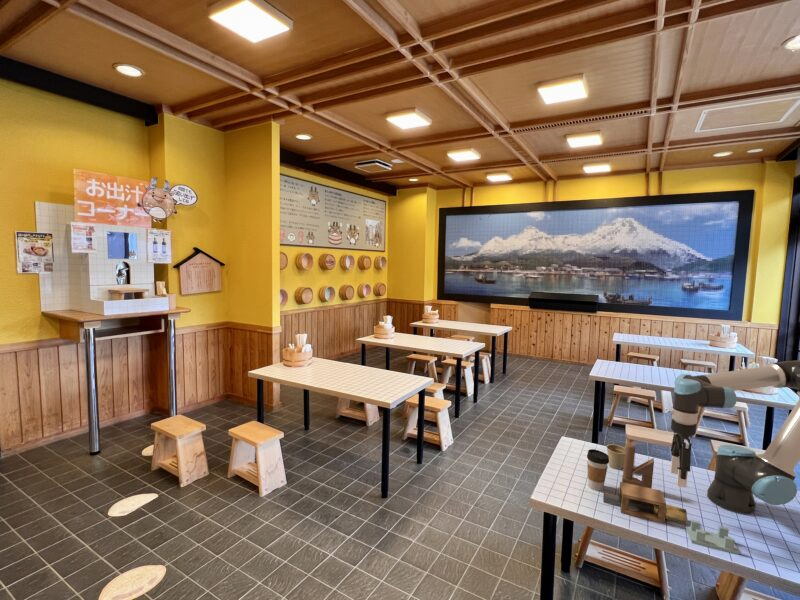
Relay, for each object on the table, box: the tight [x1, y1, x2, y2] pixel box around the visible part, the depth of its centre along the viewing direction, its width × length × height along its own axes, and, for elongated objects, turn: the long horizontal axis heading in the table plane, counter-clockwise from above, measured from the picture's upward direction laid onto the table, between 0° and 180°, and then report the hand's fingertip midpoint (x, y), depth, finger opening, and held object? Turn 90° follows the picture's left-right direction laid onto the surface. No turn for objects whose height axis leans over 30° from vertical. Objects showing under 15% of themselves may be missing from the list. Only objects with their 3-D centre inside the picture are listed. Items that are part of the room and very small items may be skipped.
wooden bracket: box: [621, 443, 655, 489], centre depth 169 cm, size 4×11×18 cm, turn 60°
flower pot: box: [605, 444, 625, 470], centre depth 188 cm, size 9×9×9 cm
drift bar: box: [602, 492, 654, 514], centre depth 156 cm, size 17×3×3 cm, turn 64°
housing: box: [618, 481, 667, 524], centre depth 154 cm, size 14×9×8 cm
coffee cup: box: [586, 448, 609, 492], centre depth 169 cm, size 8×8×15 cm
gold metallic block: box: [653, 504, 688, 525], centre depth 150 cm, size 10×5×5 cm, turn 65°
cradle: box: [685, 519, 740, 555], centre depth 138 cm, size 13×8×4 cm, turn 67°
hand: (678, 479), depth 148 cm, fingers open, 9 cm apart
